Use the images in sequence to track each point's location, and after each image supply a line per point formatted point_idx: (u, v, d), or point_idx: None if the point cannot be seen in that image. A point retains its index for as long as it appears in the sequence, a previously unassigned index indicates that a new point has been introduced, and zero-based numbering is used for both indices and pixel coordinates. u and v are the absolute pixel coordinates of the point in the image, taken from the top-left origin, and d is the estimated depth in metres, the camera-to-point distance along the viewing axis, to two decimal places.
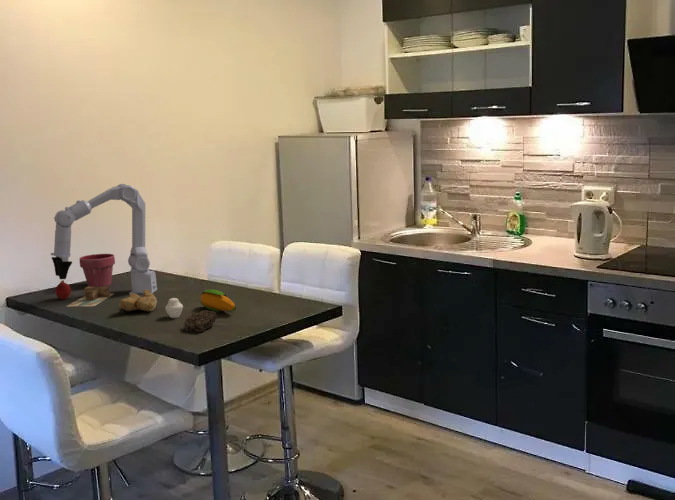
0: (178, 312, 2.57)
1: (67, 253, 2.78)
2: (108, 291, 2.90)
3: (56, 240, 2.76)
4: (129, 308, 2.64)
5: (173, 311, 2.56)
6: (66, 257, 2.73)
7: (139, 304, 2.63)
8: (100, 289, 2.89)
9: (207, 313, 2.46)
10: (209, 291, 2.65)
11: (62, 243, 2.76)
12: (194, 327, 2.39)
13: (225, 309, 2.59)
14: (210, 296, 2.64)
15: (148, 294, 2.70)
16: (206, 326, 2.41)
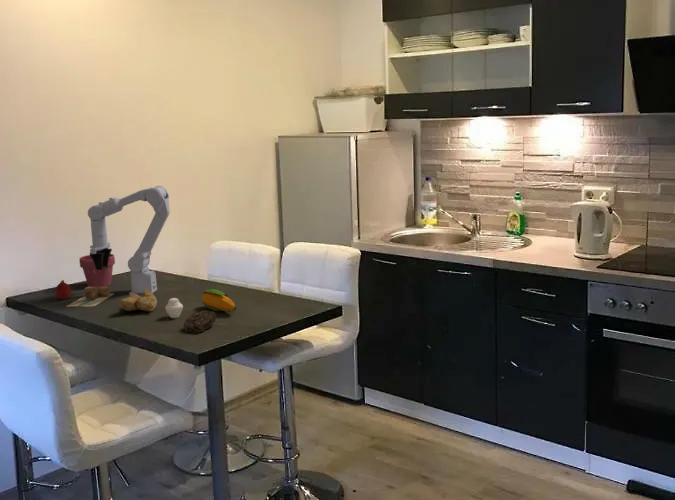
0: (178, 312, 2.57)
1: (101, 245, 2.92)
2: (108, 291, 2.90)
3: None
4: (129, 308, 2.64)
5: (173, 311, 2.56)
6: (93, 250, 2.87)
7: (139, 304, 2.63)
8: (100, 289, 2.89)
9: (206, 313, 2.46)
10: (210, 291, 2.66)
11: (95, 236, 2.91)
12: (194, 327, 2.39)
13: (225, 309, 2.59)
14: (211, 296, 2.64)
15: (148, 294, 2.70)
16: (206, 326, 2.41)
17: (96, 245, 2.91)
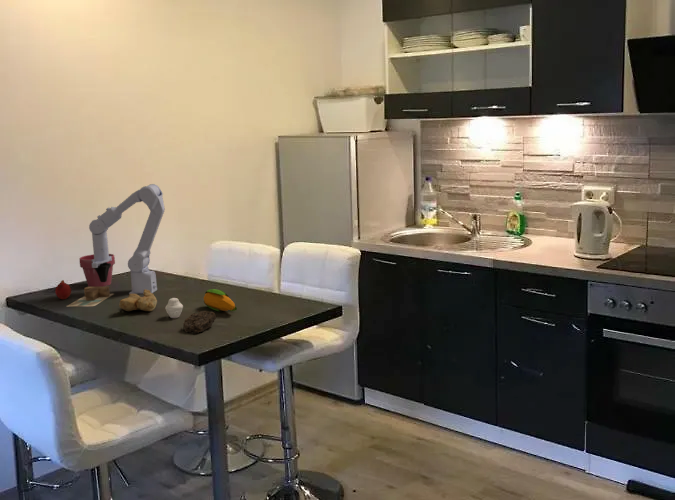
0: (178, 312, 2.57)
1: (102, 259, 2.93)
2: (108, 291, 2.90)
3: (93, 247, 2.93)
4: (129, 308, 2.64)
5: (173, 311, 2.56)
6: (94, 264, 2.88)
7: (139, 304, 2.64)
8: (100, 289, 2.89)
9: (206, 314, 2.46)
10: (211, 291, 2.66)
11: (96, 250, 2.92)
12: (193, 328, 2.38)
13: (225, 309, 2.59)
14: (212, 296, 2.64)
15: (148, 294, 2.70)
16: (205, 327, 2.41)
17: (98, 259, 2.92)
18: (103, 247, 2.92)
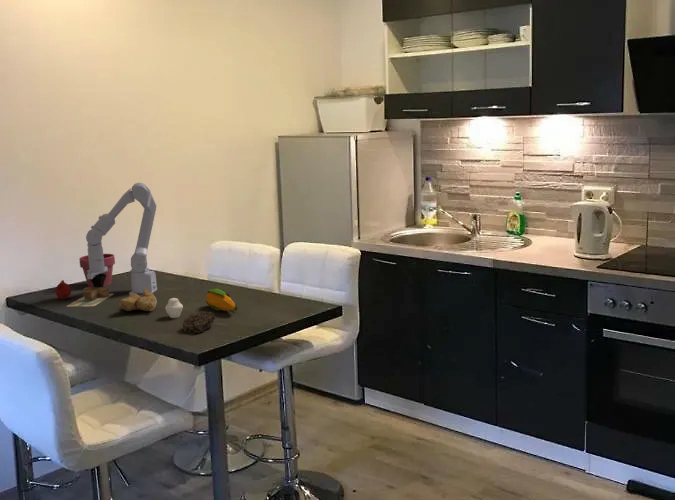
0: (178, 312, 2.57)
1: (98, 270, 2.88)
2: (107, 292, 2.90)
3: (89, 258, 2.88)
4: (129, 308, 2.64)
5: (173, 311, 2.56)
6: (89, 275, 2.84)
7: (139, 304, 2.64)
8: (99, 290, 2.88)
9: (205, 314, 2.45)
10: (213, 290, 2.66)
11: (91, 261, 2.87)
12: (193, 328, 2.38)
13: (226, 309, 2.59)
14: (214, 295, 2.65)
15: (148, 294, 2.70)
16: (205, 327, 2.40)
17: (93, 270, 2.88)
18: (100, 257, 2.88)
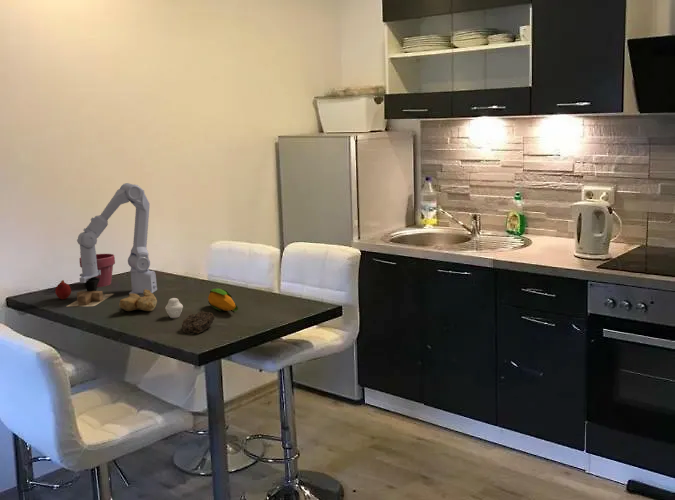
0: (178, 312, 2.57)
1: (91, 274, 2.82)
2: (101, 296, 2.83)
3: (83, 262, 2.81)
4: (129, 308, 2.64)
5: (173, 311, 2.56)
6: (82, 279, 2.78)
7: (139, 304, 2.64)
8: (93, 294, 2.81)
9: (204, 314, 2.45)
10: (215, 290, 2.66)
11: (84, 264, 2.81)
12: (192, 328, 2.38)
13: (226, 309, 2.59)
14: (215, 295, 2.65)
15: (148, 294, 2.70)
16: (204, 327, 2.40)
17: (86, 273, 2.82)
18: (95, 260, 2.83)
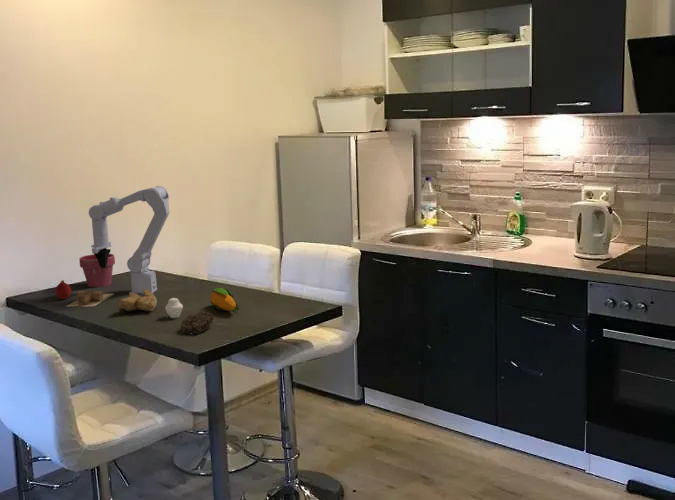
0: (178, 312, 2.57)
1: (102, 245, 2.93)
2: (101, 296, 2.83)
3: (93, 233, 2.93)
4: (129, 308, 2.64)
5: (173, 311, 2.56)
6: (94, 249, 2.88)
7: (139, 304, 2.64)
8: (93, 294, 2.81)
9: (203, 315, 2.44)
10: (216, 290, 2.67)
11: (96, 236, 2.92)
12: (192, 329, 2.37)
13: (227, 309, 2.59)
14: (216, 295, 2.65)
15: (148, 294, 2.70)
16: (203, 328, 2.39)
17: (97, 244, 2.92)
18: (102, 233, 2.92)
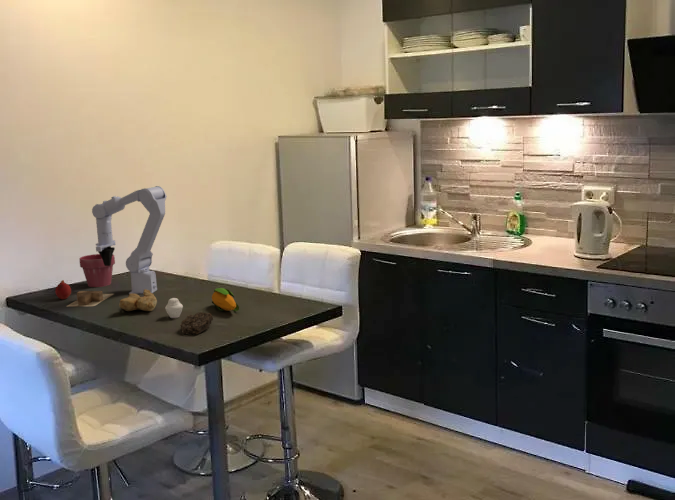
0: (178, 312, 2.57)
1: (106, 243, 2.96)
2: (101, 296, 2.83)
3: None
4: (129, 308, 2.64)
5: (173, 311, 2.56)
6: (98, 247, 2.92)
7: (139, 304, 2.64)
8: (93, 294, 2.81)
9: (203, 315, 2.44)
10: (218, 290, 2.67)
11: (100, 234, 2.96)
12: (191, 329, 2.37)
13: (227, 309, 2.59)
14: (217, 295, 2.65)
15: (148, 294, 2.70)
16: (203, 328, 2.39)
17: (102, 243, 2.96)
18: (105, 231, 2.95)
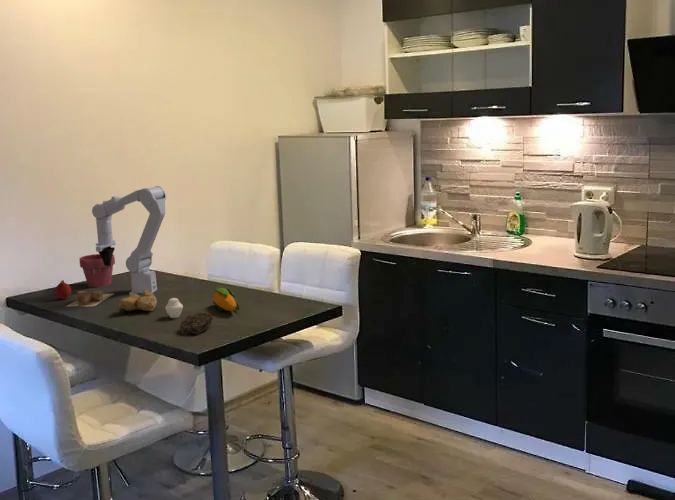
0: (178, 312, 2.57)
1: (106, 243, 2.96)
2: (101, 296, 2.83)
3: None
4: (129, 308, 2.64)
5: (173, 311, 2.56)
6: (98, 247, 2.92)
7: (139, 304, 2.64)
8: (93, 294, 2.81)
9: (202, 315, 2.44)
10: (218, 290, 2.67)
11: (100, 234, 2.96)
12: (191, 329, 2.37)
13: (227, 309, 2.59)
14: (218, 295, 2.66)
15: (148, 294, 2.70)
16: (203, 328, 2.39)
17: (102, 243, 2.96)
18: (105, 231, 2.95)
